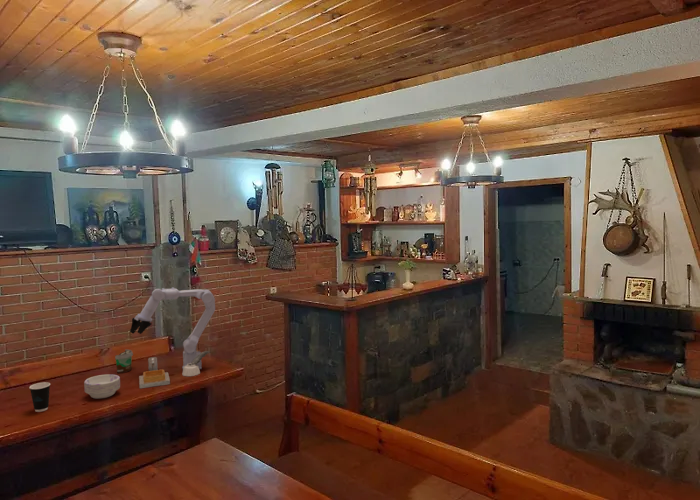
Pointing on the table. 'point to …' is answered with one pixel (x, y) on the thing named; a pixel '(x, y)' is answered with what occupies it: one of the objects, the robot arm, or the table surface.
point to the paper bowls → (102, 385)
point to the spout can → (152, 363)
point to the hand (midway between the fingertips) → (135, 332)
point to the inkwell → (194, 365)
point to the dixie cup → (40, 396)
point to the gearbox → (154, 378)
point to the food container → (124, 361)
